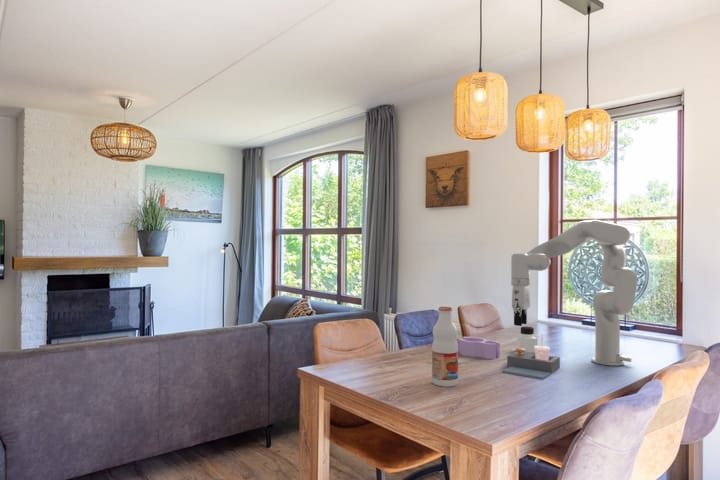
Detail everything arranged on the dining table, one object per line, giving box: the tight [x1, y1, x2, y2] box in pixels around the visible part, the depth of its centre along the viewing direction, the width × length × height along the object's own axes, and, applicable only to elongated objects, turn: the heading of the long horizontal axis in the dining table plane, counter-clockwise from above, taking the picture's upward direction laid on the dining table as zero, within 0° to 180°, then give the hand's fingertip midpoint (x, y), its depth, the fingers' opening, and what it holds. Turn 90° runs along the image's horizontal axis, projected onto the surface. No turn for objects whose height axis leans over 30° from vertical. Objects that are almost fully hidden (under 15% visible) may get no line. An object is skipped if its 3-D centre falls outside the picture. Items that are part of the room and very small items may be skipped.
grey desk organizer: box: [506, 351, 561, 375], centre depth 197 cm, size 18×12×4 cm, turn 52°
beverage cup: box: [534, 334, 551, 361], centre depth 195 cm, size 6×6×14 cm
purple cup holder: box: [456, 336, 501, 360], centre depth 220 cm, size 20×12×7 cm, turn 45°
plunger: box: [514, 347, 525, 355], centre depth 201 cm, size 4×4×5 cm
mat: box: [502, 366, 552, 380], centre depth 187 cm, size 16×9×1 cm, turn 52°
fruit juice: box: [431, 306, 459, 388], centre depth 173 cm, size 9×9×28 cm
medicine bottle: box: [517, 325, 538, 354], centre depth 228 cm, size 7×7×12 cm
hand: (520, 324), depth 201 cm, fingers open, 5 cm apart
